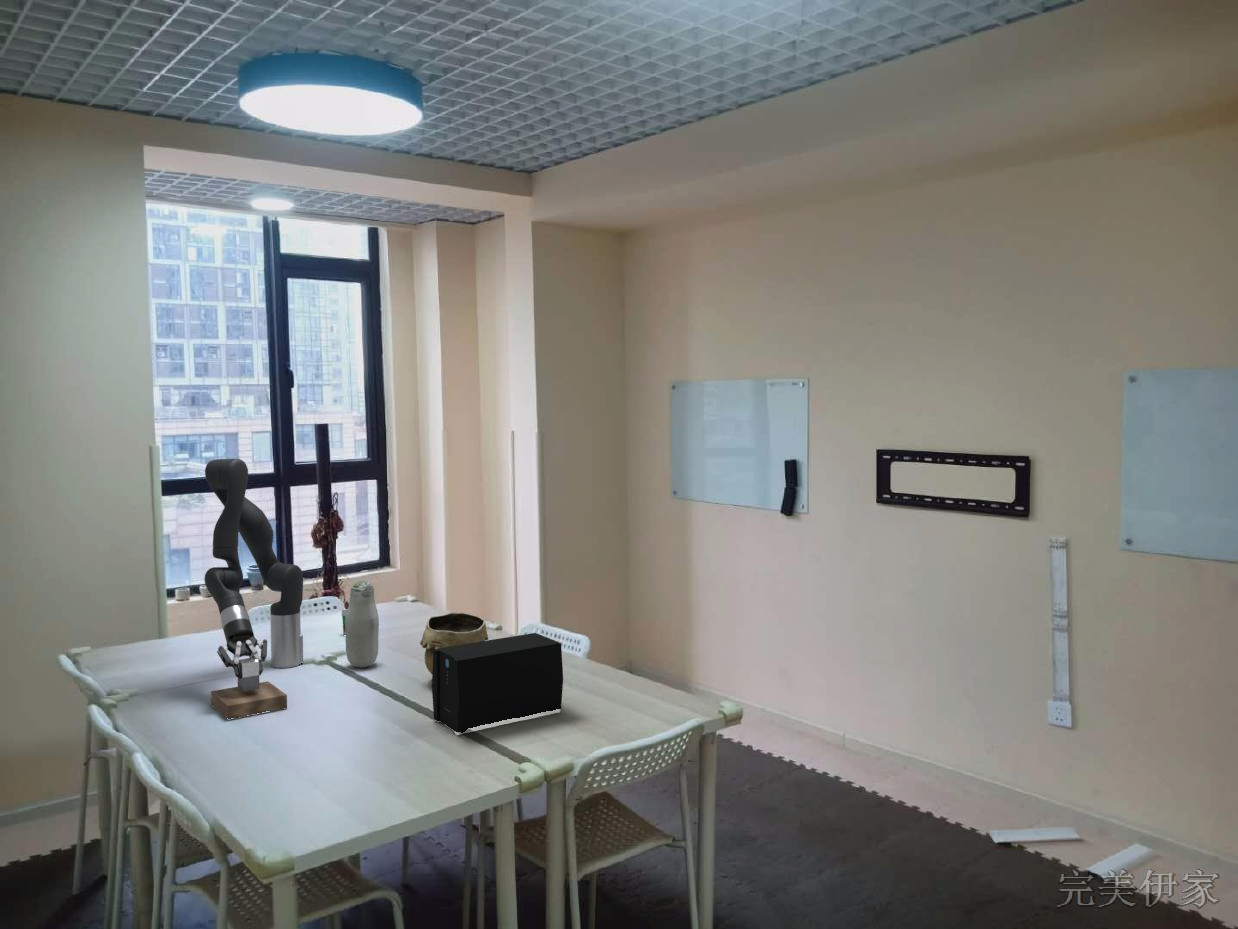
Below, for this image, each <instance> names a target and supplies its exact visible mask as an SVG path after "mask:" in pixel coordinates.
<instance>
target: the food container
mask: <svg viewBox="0 0 1238 929" xmlns="http://www.w3.org/2000/svg"><path fill="white" fill-rule="evenodd" d="M347 610H348V609H342V610H341V618H342V619H341V620H342V629H343V631H342V633H343V636H344V635H346V634H345V619H346V613H347Z"/></svg>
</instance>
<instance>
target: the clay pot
mask: <svg viewBox="0 0 1238 929" xmlns="http://www.w3.org/2000/svg"><path fill="white" fill-rule="evenodd" d="M487 640H489V634H488V630H487V625H486V621H485V619H483V618H482V617H480V616H477V615H474V614H472V613H471V614H470V613H467V612H449V613H446V614H442V615H433V616H430V617H429V618H428V619H427V622H426V625H425V628H424V631H423V634H422V638H421V640H420V642H419V644H420V646H421V648H423V649H425V651H424V663H425V667H426V669H427V670H428V672H429V673H430V674H431V675H432V671H433V650H434V649H437V648H443V647H450V646H456V645H462V644H468V643H475V642H481V641H487Z"/></svg>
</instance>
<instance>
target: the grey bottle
mask: <svg viewBox="0 0 1238 929" xmlns="http://www.w3.org/2000/svg"><path fill="white" fill-rule="evenodd" d="M349 596H350V597H349V602H348V608H347V609H346V610H347V613H346V619H345V634H346V636H345V654H346V658H347V660H348V662H349V664H350V665H351V666H353V667H356V668H359V667H363V668H368V667H367V666H369V667H370V665H371V666H372V665H374V664H375V663H376V661H377V658H378V655H379V633H380V631H379V630H380V628H379V627H380V619H379V613H378V609H377V604H376V599H375V587H374V586H373V584H372V583H371V582H368V581H362V580H361V581H357V582H354V583H353V584H352V585H351V588H350V593H349Z"/></svg>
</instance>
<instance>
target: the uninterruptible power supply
mask: <svg viewBox="0 0 1238 929" xmlns="http://www.w3.org/2000/svg"><path fill="white" fill-rule="evenodd" d="M563 685H564V668H563V653H562V642H560V641H557V640H554V639H552V638H550V637H547V636H545V635H542V634H540V633H538V632H532V633H526V634H520V635H519V634H518V635H513V636H508V637H507V636H506V637H499V638H494V639H490V640H489V639H488V640H485V641H481V642H475V643H468V644H462V645H456V646H450V647H443V648H437V649H434V650H433V671H432V674H431V689H432V690H431V694H432V709H433V710H432V712H433V720H434V719H435V720H437V721H441V722H442V723H443V724H446V725H447V726H448V727H450V728H451V729H453V730H454V731H456V732H461V733H463V732H465V731H466V730H467V729H468V728H473V727H477V726H480V725H485V724H491V723H494V722H499V721H502V720H507V719H512V718H520V717H525V716H529V715H533V714H537V713H541V712H546V711H553V710H556V709H561V710H562V704H563V703H562V701H563V699H562V698H563V687H564V686H563ZM443 724H442V725H443Z"/></svg>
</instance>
